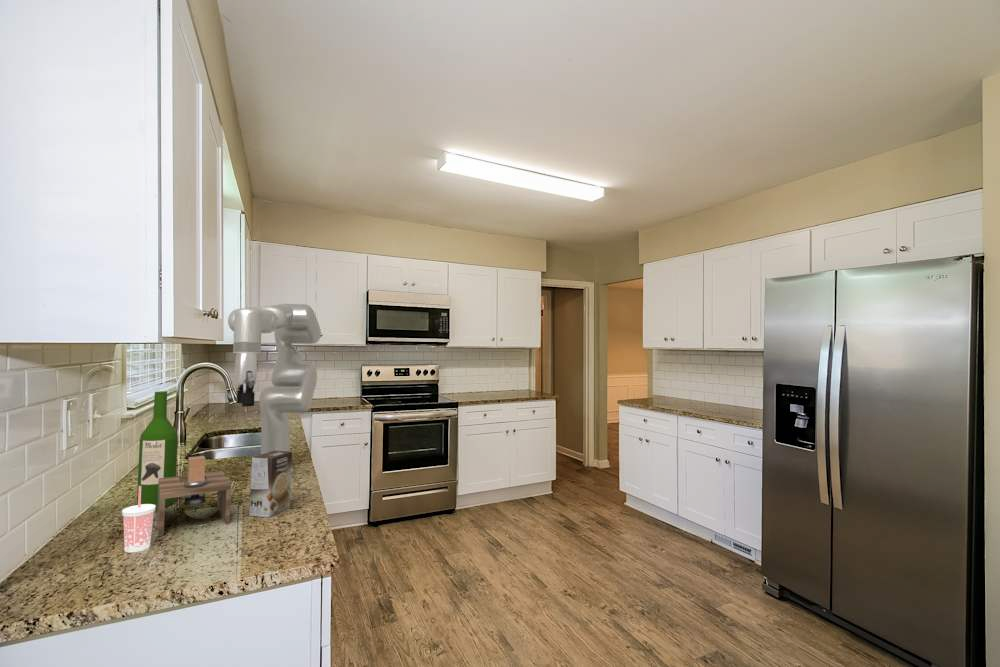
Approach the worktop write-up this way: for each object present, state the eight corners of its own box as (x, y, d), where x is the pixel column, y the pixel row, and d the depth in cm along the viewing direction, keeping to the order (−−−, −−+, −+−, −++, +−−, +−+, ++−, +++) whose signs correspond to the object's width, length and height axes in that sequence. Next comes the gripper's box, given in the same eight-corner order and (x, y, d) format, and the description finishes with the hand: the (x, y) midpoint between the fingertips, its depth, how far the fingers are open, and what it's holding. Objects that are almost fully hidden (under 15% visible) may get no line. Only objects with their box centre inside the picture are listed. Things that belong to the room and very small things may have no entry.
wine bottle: (132, 512, 130) (137, 393, 131) (141, 502, 138) (146, 390, 139) (171, 508, 134) (176, 392, 135) (178, 498, 142) (182, 390, 143)
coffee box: (269, 518, 127) (271, 458, 128) (248, 516, 129) (250, 456, 129) (291, 507, 136) (292, 451, 137) (271, 505, 138) (273, 449, 138)
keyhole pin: (182, 501, 123) (184, 457, 123) (205, 498, 126) (207, 454, 126) (184, 507, 119) (185, 460, 119) (207, 503, 122) (209, 458, 122)
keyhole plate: (157, 515, 128) (158, 478, 128) (221, 505, 137) (222, 470, 137) (158, 536, 114) (160, 494, 114) (229, 523, 123) (230, 484, 123)
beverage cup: (157, 541, 111) (160, 481, 112) (148, 552, 105) (151, 488, 106) (126, 544, 109) (129, 483, 109) (115, 555, 103) (118, 491, 104)
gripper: (229, 348, 150) (227, 402, 149) (237, 348, 136) (235, 408, 136) (255, 348, 154) (253, 401, 154) (266, 349, 141) (264, 406, 140)
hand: (245, 404), depth 145 cm, fingers open, 9 cm apart
